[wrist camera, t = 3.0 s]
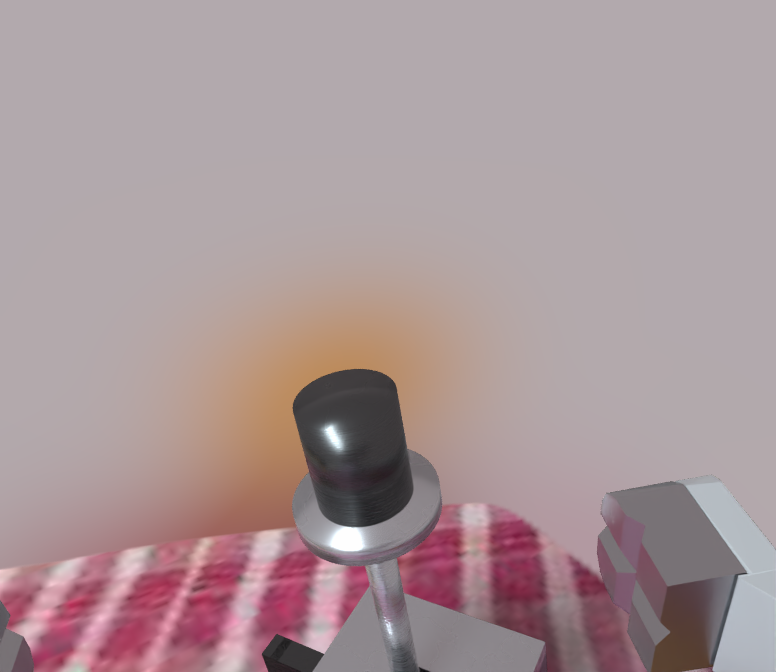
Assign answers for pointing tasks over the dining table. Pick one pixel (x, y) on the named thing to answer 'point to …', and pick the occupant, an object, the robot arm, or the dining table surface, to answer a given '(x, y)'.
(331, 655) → the matte gray cube
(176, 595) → the dining table surface
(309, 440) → the plunger
